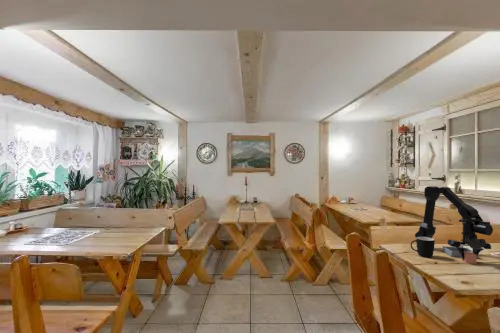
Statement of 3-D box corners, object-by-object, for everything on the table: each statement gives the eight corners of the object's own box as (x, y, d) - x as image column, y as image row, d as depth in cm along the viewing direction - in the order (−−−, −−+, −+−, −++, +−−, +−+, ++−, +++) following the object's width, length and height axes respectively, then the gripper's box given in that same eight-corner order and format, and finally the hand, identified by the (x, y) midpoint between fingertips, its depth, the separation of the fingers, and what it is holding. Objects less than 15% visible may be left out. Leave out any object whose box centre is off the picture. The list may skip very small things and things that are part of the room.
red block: (465, 263, 160) (465, 253, 160) (461, 260, 165) (461, 251, 165) (476, 263, 159) (476, 254, 159) (471, 261, 163) (471, 251, 164)
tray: (451, 256, 170) (451, 251, 170) (442, 251, 182) (442, 246, 182) (477, 258, 168) (477, 253, 168) (466, 252, 179) (466, 247, 179)
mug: (434, 255, 172) (434, 238, 172) (434, 259, 165) (434, 241, 165) (410, 252, 179) (411, 235, 179) (409, 255, 171) (410, 238, 171)
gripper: (456, 233, 156) (456, 263, 156) (497, 235, 152) (497, 266, 152) (447, 229, 167) (446, 257, 167) (485, 231, 163) (484, 259, 163)
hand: (468, 260), depth 162 cm, fingers closed on red block, 5 cm apart
